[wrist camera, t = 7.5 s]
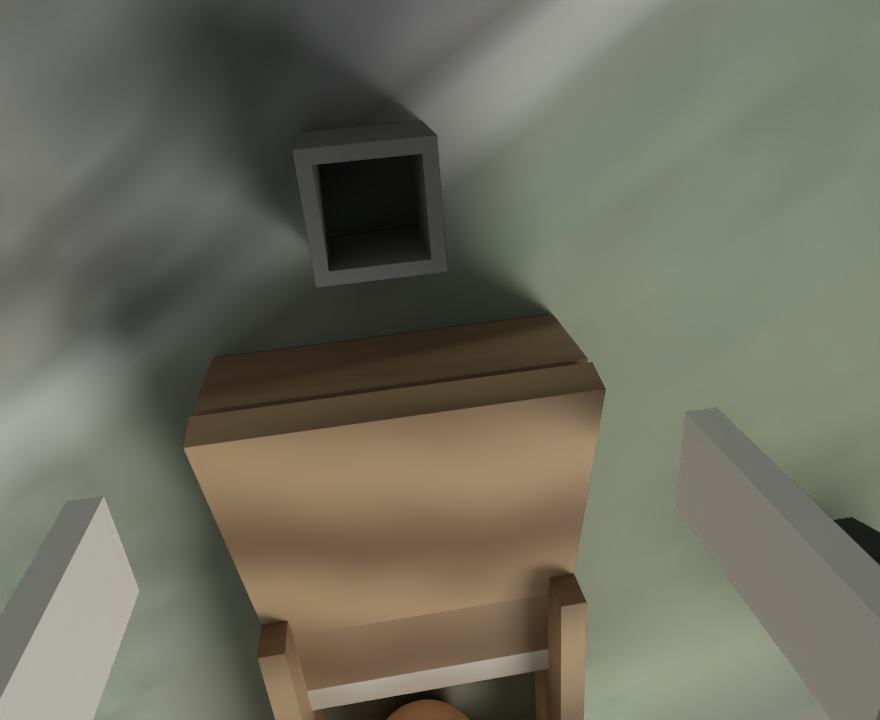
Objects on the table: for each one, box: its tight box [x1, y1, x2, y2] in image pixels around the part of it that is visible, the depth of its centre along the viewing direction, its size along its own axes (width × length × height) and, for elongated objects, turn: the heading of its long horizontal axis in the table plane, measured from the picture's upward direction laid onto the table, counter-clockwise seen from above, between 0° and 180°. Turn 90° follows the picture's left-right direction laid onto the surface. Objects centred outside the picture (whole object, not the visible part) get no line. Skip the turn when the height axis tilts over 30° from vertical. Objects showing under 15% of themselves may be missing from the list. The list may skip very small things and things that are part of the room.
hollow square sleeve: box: [292, 120, 447, 288], centre depth 16 cm, size 3×3×3 cm
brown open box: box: [183, 314, 606, 720], centre depth 22 cm, size 20×10×4 cm, turn 5°
